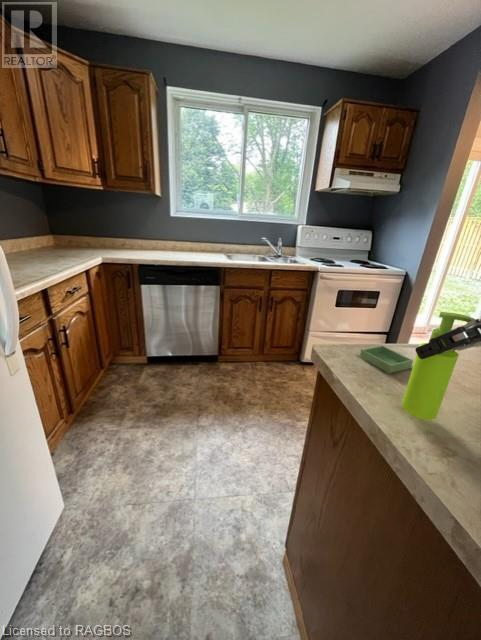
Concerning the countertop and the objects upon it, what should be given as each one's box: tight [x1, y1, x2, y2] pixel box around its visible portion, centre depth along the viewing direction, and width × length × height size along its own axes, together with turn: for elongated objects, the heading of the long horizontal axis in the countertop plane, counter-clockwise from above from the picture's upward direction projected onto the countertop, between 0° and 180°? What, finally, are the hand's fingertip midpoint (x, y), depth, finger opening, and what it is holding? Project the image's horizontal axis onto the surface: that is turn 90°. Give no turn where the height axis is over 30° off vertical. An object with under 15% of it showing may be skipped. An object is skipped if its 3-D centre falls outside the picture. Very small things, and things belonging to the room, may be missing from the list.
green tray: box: [359, 345, 414, 374], centre depth 74 cm, size 10×8×2 cm
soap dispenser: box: [401, 311, 477, 421], centre depth 50 cm, size 6×7×20 cm
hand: (430, 350), depth 50 cm, fingers closed on soap dispenser, 6 cm apart
